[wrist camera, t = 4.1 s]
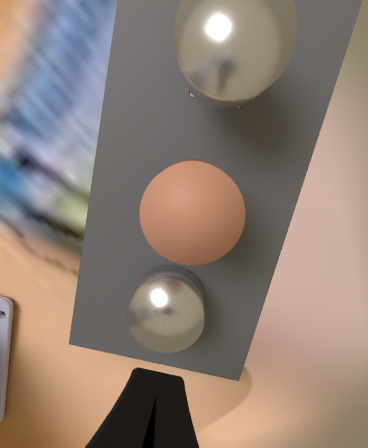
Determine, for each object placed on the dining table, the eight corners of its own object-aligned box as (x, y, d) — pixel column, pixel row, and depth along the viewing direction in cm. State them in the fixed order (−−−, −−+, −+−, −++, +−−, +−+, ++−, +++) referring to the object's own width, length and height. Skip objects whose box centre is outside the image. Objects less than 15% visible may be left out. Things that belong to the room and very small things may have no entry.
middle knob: (218, 233, 14) (230, 275, 9) (152, 218, 14) (130, 253, 9) (236, 165, 13) (258, 176, 9) (166, 149, 13) (150, 150, 9)
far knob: (195, 303, 17) (194, 360, 13) (140, 292, 17) (121, 344, 13) (208, 253, 16) (212, 293, 12) (151, 240, 16) (134, 276, 12)
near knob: (247, 123, 13) (276, 111, 8) (174, 107, 13) (162, 84, 8) (269, 41, 12) (315, -24, 7) (191, 23, 12) (188, -54, 7)
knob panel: (231, 343, 18) (238, 381, 16) (88, 312, 18) (68, 344, 15) (331, 18, 14) (367, -16, 11) (142, -27, 14) (128, -74, 11)
